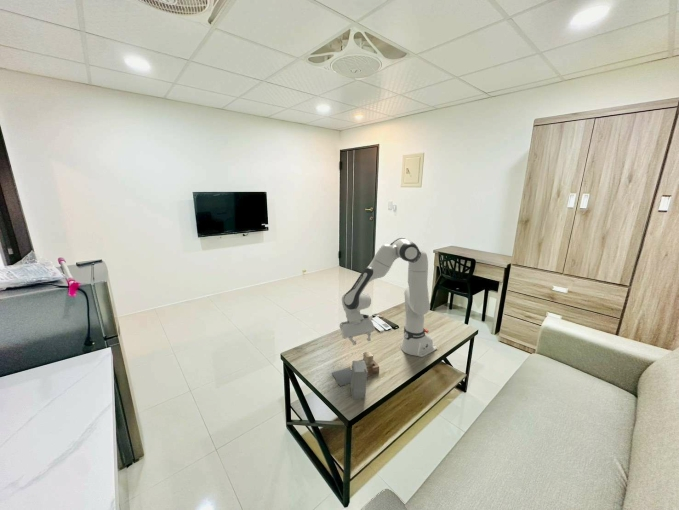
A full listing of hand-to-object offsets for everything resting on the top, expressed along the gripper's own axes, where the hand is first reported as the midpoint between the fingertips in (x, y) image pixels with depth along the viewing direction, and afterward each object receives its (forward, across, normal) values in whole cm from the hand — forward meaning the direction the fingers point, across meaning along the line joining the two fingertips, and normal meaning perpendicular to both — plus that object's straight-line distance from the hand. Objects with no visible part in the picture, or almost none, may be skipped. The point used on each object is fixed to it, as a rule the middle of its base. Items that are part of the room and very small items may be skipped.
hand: (362, 342), depth 154 cm
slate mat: (+14, -14, +4) cm, 20 cm away
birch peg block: (+14, 0, +4) cm, 15 cm away
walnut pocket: (+14, 0, +4) cm, 15 cm away
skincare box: (+24, -13, -5) cm, 27 cm away
